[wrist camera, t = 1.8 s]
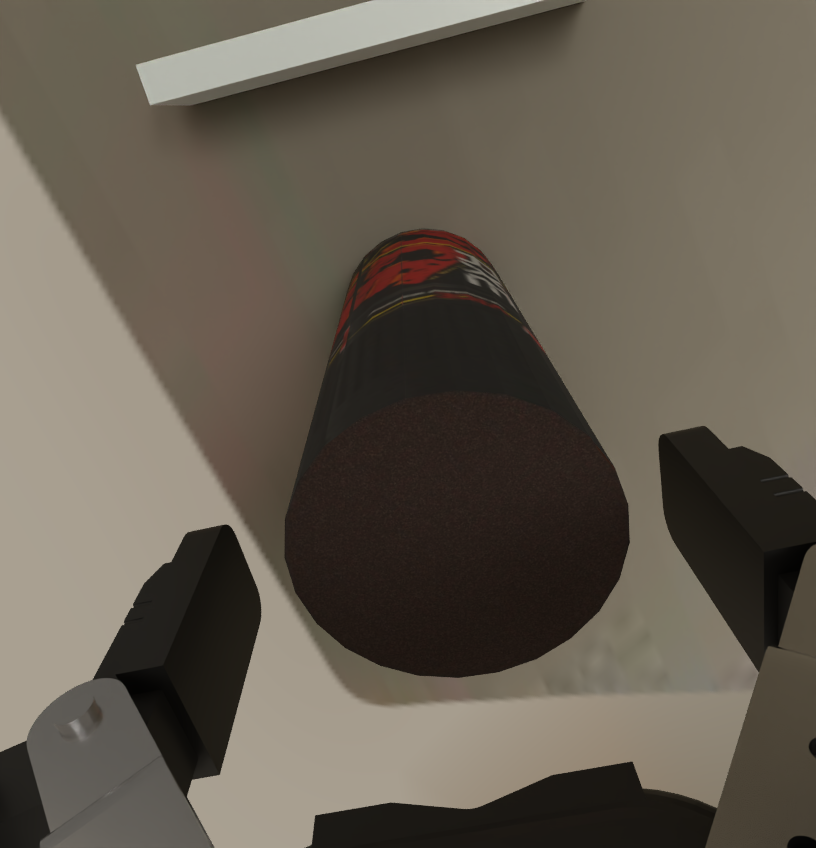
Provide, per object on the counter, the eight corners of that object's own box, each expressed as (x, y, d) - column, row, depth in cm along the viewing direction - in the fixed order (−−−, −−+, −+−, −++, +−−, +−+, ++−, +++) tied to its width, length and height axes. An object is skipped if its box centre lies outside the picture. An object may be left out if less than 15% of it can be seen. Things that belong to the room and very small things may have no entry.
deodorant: (523, 248, 24) (685, 430, 10) (479, 396, 26) (565, 698, 13) (362, 211, 23) (313, 354, 10) (333, 366, 26) (262, 651, 12)
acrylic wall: (179, 71, 21) (135, 64, 18) (581, -37, 20) (620, -68, 17) (190, 105, 22) (150, 105, 18) (584, 1, 21) (624, -22, 17)
